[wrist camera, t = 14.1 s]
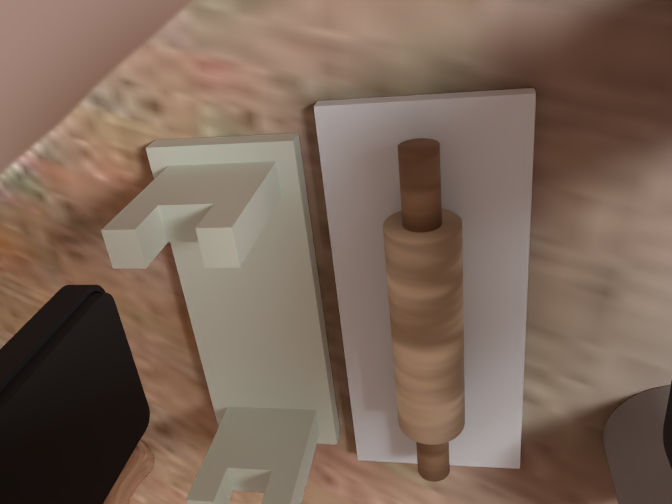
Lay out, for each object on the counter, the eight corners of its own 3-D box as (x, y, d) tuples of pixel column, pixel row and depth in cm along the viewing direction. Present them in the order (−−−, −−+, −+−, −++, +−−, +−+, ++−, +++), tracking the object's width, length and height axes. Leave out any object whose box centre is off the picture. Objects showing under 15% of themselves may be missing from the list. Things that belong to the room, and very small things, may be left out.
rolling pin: (404, 127, 40) (360, 153, 36) (476, 136, 37) (434, 165, 34) (422, 437, 52) (390, 477, 49) (476, 461, 49) (446, 504, 46)
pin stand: (298, 132, 41) (251, 203, 32) (340, 431, 54) (315, 544, 44) (155, 140, 43) (71, 209, 34) (226, 426, 56) (180, 533, 46)
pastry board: (533, 87, 37) (535, 93, 36) (518, 457, 52) (519, 468, 51) (317, 100, 40) (313, 106, 39) (359, 449, 54) (357, 460, 53)
